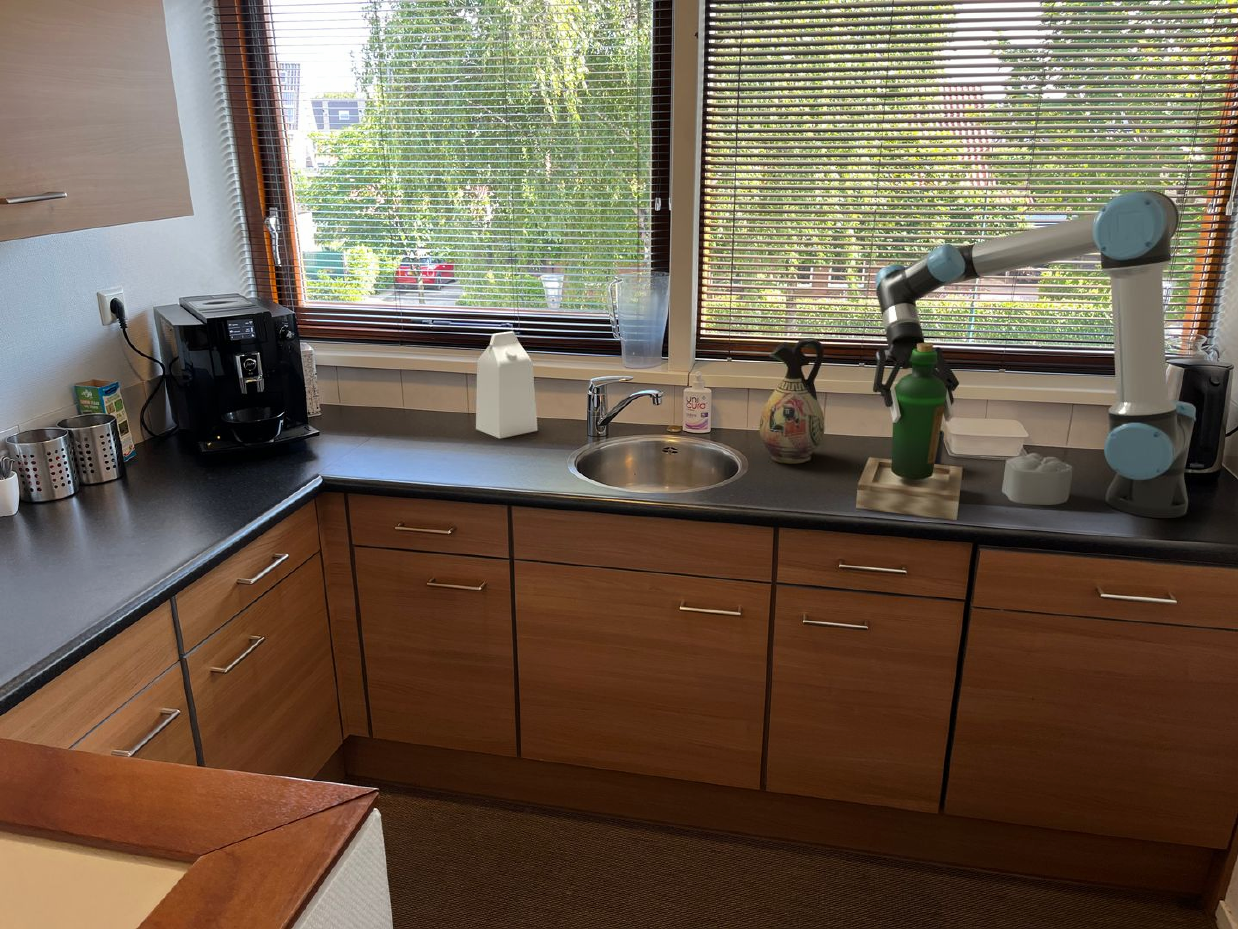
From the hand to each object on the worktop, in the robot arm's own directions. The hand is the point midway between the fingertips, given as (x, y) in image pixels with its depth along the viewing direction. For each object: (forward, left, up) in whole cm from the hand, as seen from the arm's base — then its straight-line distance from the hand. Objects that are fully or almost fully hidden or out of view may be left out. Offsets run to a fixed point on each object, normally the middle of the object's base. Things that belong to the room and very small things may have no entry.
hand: (923, 418), depth 199 cm
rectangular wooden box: (+1, -3, -18) cm, 19 cm away
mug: (+1, -27, -19) cm, 33 cm away
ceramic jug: (+30, -21, -19) cm, 41 cm away
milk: (+106, -20, -19) cm, 110 cm away
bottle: (+1, -3, -13) cm, 14 cm away
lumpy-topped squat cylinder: (-24, -14, -19) cm, 34 cm away
